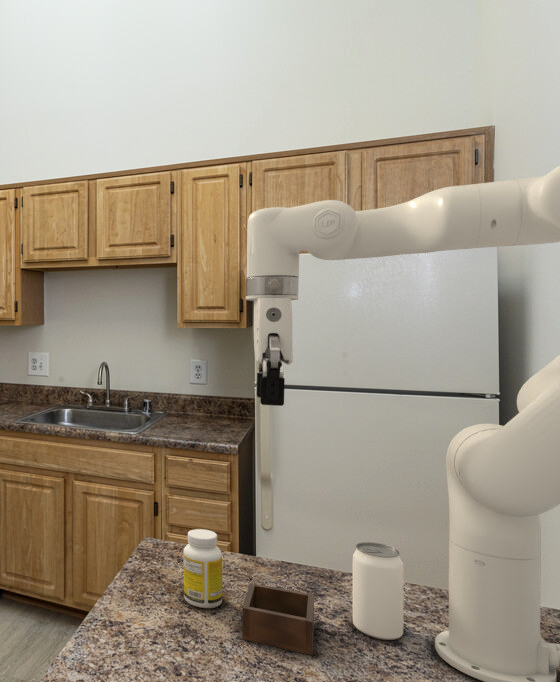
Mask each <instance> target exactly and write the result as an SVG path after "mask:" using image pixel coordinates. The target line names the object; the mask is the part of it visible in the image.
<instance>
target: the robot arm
mask: <svg viewBox="0 0 560 682" xmlns="http://www.w3.org/2000/svg"><path fill="white" fill-rule="evenodd" d="M555 243H560V165H558V166H557V167H555V168H553V169H552V170H550V172H548V173H546V174H545V175H541V176H534V177H524V178H516V179H508V180H499V181H490V182H480V183H471V184H463V185H462V184H461V185H452V186H446V187H441V188H438V189H434V190H431V191H429V192H426V193H424V194H422V195H420V196H417V197H415V198H413V199H410V200H408V201H405V202H402V203H397V204H395V205H390V206H386V207H380V208H379V207H378V208H374V209H373V208H371V209H364V210H355V209H354V208H353V207H352V206H351V205H350V204H348V203H346V202H345V201H341V200H337V199H326V200H325V199H324V200H319V201H315V202H311V203H305V204H302V205H297V206H291V207H284V206H275V207H266V208H265V207H264V208H260V209H257V210H254V211H253V212H252V213H250V215H249V216H248V218H247V227H246V272H245V273H246V275H245V276H246V277H245V300H246V301H251V302H252V301H253V349H254V359H255V361H256V362H257V363H258V367H257V368H258V369H257V373H256V397H257V398H260V399H259V403H260V405H262V406H275V407H276V406H277V407H279V406H280V407H282V406H284V405H285V380H286V379H285V377H284V364H285V365H289V366H290V365H291V364H292V363H293V361H294V353H293V352H294V351H293V306H292V301H297V300H299V286H300V285H299V283H300V282H299V281H300V278H299V277H300V253H301V252H308V254H310V255H311V256H313V257H314V258H316V259H318V260H323V261H342V260H343V261H345V260H357V259H358V260H359V259H371V258H382V257H393V256H401V255H414V254H430V253H437V252H445V251H458V250H472V249H482V248H483V249H484V248H485V249H486V248H498V247H515V246H529V245H544V244H555ZM516 407H517V408H516V409H517V411H518V413H517V414H516V415H515V416H513V417H512V418H511V419H510V420H509V421H507V422H506V424H504V425H503V424H502V425H501V424H497V423H477V424H473V425H469V426H467V427H465V428H464V429H462V430H460V431H459V432H457V434H455V436H454V437H453V438H452V439H451V441H450V443H449V444H448V448H447V451H446V455H445V456H446V457H445V473H446V484H447V494H448V495H447V497H448V532H449V533H448V630H444V631H441V632H439V633H438V634H437V635H436V636H435V638H434V648H435V651H436V653H437V655H438V656H439V657H440V658H441V659H442V660H443V661H445V662H446V663H447V664H448V665H449V666H451V667H453V668H454V669H456V670H457V671H459V672H461V673H463V674H465V675H467V676H469V677H471V678H473V679H477V680H478V681H481V682H557V678H558V677H557V676H558V675H557V670H556V669H559V667H560V643H552V642H548V641H546V640H545V639H544V638H543V637H542V636H541V582H542V581H541V578H542V577H541V573H542V571H541V569H542V568H541V567H542V566H541V565H542V564H541V563H542V561H541V559H542V557H541V556H542V529H541V528H542V527H541V517H540V515H541V514H544V513H546V512H549V511H551V510H553V509H554V508H557V507H558V506H560V354H558V355H557V356H556V357H555V358H554V359H552V360H551V361H550V362H549V363H547V365H545V366H543V367H542V368H541V369H540V370H539V371H538V372H536V373H534V375H532V376H531V377H530V378H529V379H527V380H526V381H525V382H524V383H523V385H522V386H521V388H520V389H519V391H518V393H517V397H516Z"/></svg>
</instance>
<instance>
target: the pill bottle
mask: <svg viewBox="0 0 560 682" xmlns="http://www.w3.org/2000/svg"><path fill="white" fill-rule="evenodd" d="M217 545H218V534H217V533H216V532H215V531H213V530H209V529H201V528H196V529H191V530H189V531H188V532H187V544H186V545H185V546H184V547H183V551H182V555H183V556H182V557H183V559H182V561H183V562H182V563H183V565H182V566H183V567H182V568H183V572H182V573H183V598H184V600H185V601H186V603H188V604H189V605H191V606H194V607H196V608H201V609H213V608H217V607H219V606H220V605H222V603H223V553H222V550H221V549H220V548H219V546H217Z"/></svg>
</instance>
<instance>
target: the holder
mask: <svg viewBox="0 0 560 682" xmlns="http://www.w3.org/2000/svg"><path fill="white" fill-rule="evenodd" d="M314 631H315V594H313V593H308V592H302V591H297V590H292V589H287V588H281V587H275V586H269V585H264V584H259V583H255V582H254V583H253V582H250V583H249V585H248V589H247V591H246V595H245V598H244V602H243V605H242V640H243V641H246V642H247V641H248V642H253V643H257V644H260V645H261V644H262V645H266V646H269V647H275V648H277V649H283V650H288V651H291V652H297V653H300V654H305V655H310V656H313V655H314V635H315V634H314Z"/></svg>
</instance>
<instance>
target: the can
mask: <svg viewBox="0 0 560 682" xmlns="http://www.w3.org/2000/svg"><path fill="white" fill-rule="evenodd" d="M355 548H356V549H355V550H354V552H353V554H352V624H353V626H354V627H355V629H356V630H357V631H359V632H360V633H361V634H363V635H365V636H368V637H370V638H373V639H376V640H382V641H395V640H398V639H400V638H401V637H402V636H403V635H404V562H403V560H402V558H401V556H400V554H401V552H400V550H399V549H397V548H395V547H393V546H391V545H388V544H386V543H385V544H384V543H379V542H370V541H363V542H362V541H361V542H358V543H356V545H355Z"/></svg>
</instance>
